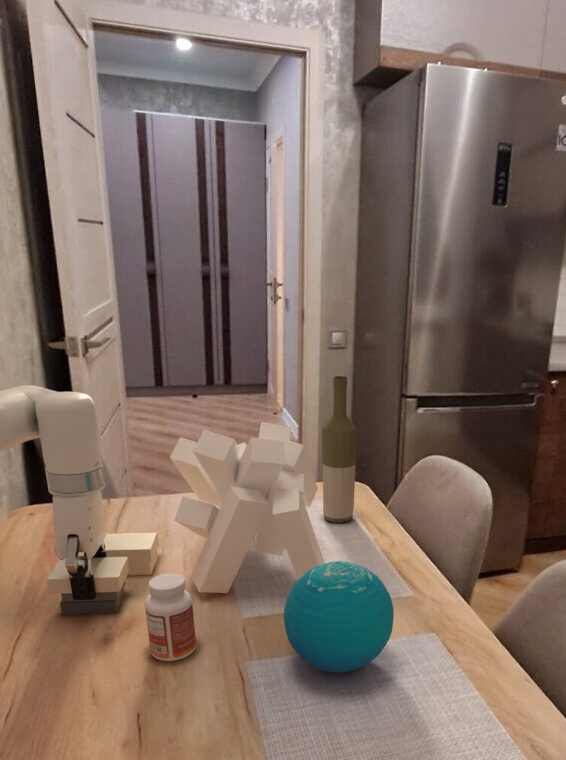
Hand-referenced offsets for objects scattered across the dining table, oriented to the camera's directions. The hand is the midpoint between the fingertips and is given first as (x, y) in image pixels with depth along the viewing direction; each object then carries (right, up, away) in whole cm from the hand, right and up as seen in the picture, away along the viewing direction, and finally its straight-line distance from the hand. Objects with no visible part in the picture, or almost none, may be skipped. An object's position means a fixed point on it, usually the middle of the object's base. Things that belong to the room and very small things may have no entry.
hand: (91, 585), depth 104 cm
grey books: (0, -3, +1) cm, 3 cm away
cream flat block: (0, +1, 0) cm, 1 cm away
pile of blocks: (+21, +2, +17) cm, 28 cm away
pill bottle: (+16, -8, -9) cm, 20 cm away
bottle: (+35, +10, +38) cm, 53 cm away
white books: (0, +2, +13) cm, 14 cm away
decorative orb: (+39, -10, -10) cm, 42 cm away
